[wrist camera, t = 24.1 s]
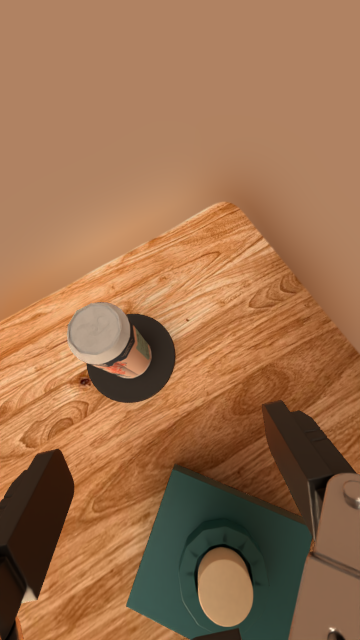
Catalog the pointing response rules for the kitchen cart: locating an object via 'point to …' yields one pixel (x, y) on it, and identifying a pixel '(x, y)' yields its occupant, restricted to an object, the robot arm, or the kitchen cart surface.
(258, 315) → the kitchen cart surface
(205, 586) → the button
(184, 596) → the push button base
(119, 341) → the beer can
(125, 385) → the coaster
